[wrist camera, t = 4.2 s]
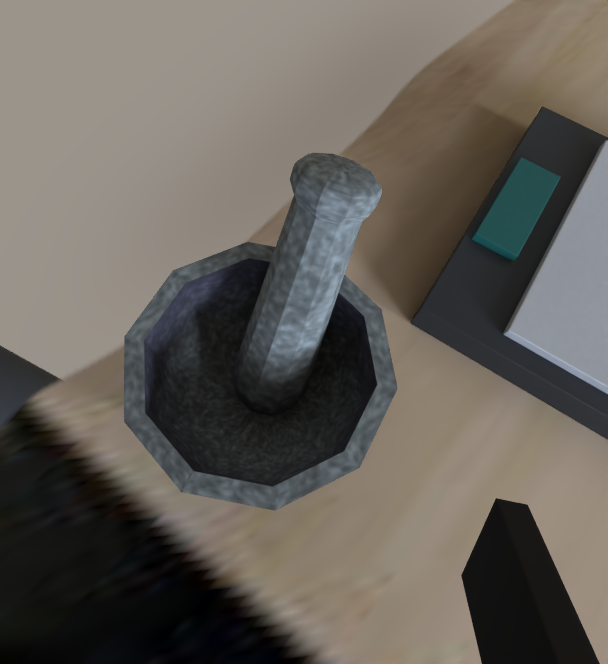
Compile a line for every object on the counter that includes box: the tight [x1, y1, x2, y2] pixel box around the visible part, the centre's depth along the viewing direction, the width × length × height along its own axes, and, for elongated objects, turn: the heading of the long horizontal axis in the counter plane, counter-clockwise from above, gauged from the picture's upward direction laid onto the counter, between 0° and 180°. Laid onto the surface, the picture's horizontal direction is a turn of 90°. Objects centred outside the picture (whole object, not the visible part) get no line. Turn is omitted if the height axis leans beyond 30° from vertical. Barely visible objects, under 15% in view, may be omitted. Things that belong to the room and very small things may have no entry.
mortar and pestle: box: [124, 153, 397, 510], centre depth 17 cm, size 11×9×12 cm
